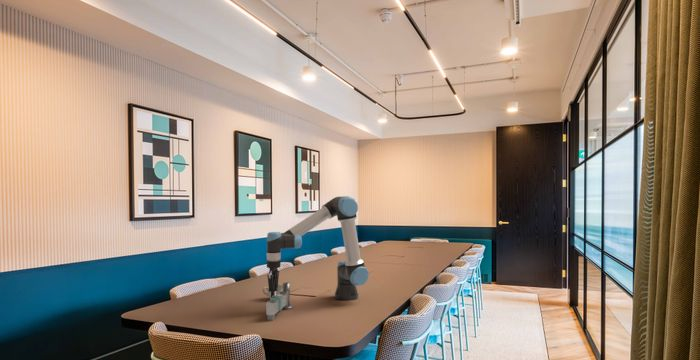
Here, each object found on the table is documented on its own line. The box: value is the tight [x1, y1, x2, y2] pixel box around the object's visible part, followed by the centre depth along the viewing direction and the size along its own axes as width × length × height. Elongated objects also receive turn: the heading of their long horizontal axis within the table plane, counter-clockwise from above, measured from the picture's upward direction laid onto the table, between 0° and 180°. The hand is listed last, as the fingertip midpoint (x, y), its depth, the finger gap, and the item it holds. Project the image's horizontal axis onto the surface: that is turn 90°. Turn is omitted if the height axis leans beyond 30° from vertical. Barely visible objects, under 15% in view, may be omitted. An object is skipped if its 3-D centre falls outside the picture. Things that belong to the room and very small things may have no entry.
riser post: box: [281, 281, 294, 310], centre depth 234 cm, size 8×8×14 cm
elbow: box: [272, 291, 288, 310], centre depth 225 cm, size 12×5×9 cm, turn 168°
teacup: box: [261, 284, 283, 299], centre depth 253 cm, size 14×11×8 cm
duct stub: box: [265, 297, 282, 322], centre depth 213 cm, size 10×5×10 cm, turn 170°
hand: (273, 303), depth 224 cm, fingers closed
